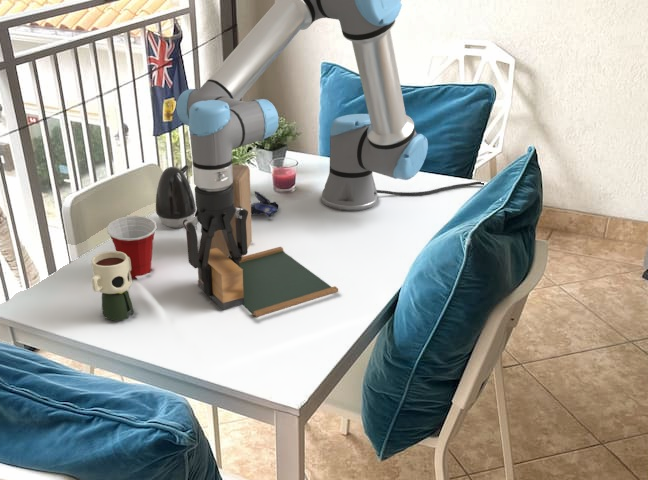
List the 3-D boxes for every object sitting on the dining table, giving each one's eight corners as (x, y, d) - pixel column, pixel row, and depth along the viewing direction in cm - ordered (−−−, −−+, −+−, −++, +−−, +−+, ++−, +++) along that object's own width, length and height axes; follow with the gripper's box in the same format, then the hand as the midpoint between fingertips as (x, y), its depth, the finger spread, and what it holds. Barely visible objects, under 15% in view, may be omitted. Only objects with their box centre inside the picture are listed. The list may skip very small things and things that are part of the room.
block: (243, 261, 163) (239, 179, 153) (202, 257, 165) (196, 176, 154) (252, 243, 172) (250, 164, 161) (213, 240, 173) (208, 161, 162)
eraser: (218, 280, 154) (217, 247, 149) (244, 303, 145) (243, 269, 141) (198, 285, 152) (195, 252, 147) (223, 310, 143) (221, 275, 138)
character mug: (114, 332, 138) (104, 274, 131) (87, 323, 141) (76, 265, 134) (148, 307, 146) (141, 251, 139) (122, 299, 149) (114, 244, 142)
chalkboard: (280, 253, 167) (280, 246, 166) (338, 295, 149) (338, 288, 148) (204, 273, 158) (204, 266, 157) (256, 321, 141) (256, 313, 140)
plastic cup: (119, 289, 153) (112, 239, 146) (109, 268, 161) (101, 220, 155) (167, 279, 156) (162, 230, 150) (154, 259, 165) (149, 212, 158)
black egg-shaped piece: (205, 222, 182) (201, 165, 174) (176, 235, 176) (170, 177, 168) (178, 212, 188) (173, 157, 180) (149, 225, 181) (142, 168, 173)
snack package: (254, 201, 194) (224, 213, 187) (256, 180, 190) (227, 191, 183) (286, 219, 189) (257, 232, 181) (290, 197, 185) (260, 210, 177)
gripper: (178, 200, 128) (189, 309, 141) (263, 181, 136) (266, 286, 149) (162, 188, 134) (174, 293, 147) (245, 170, 141) (249, 272, 154)
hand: (220, 289), depth 148 cm, fingers closed on eraser, 5 cm apart
